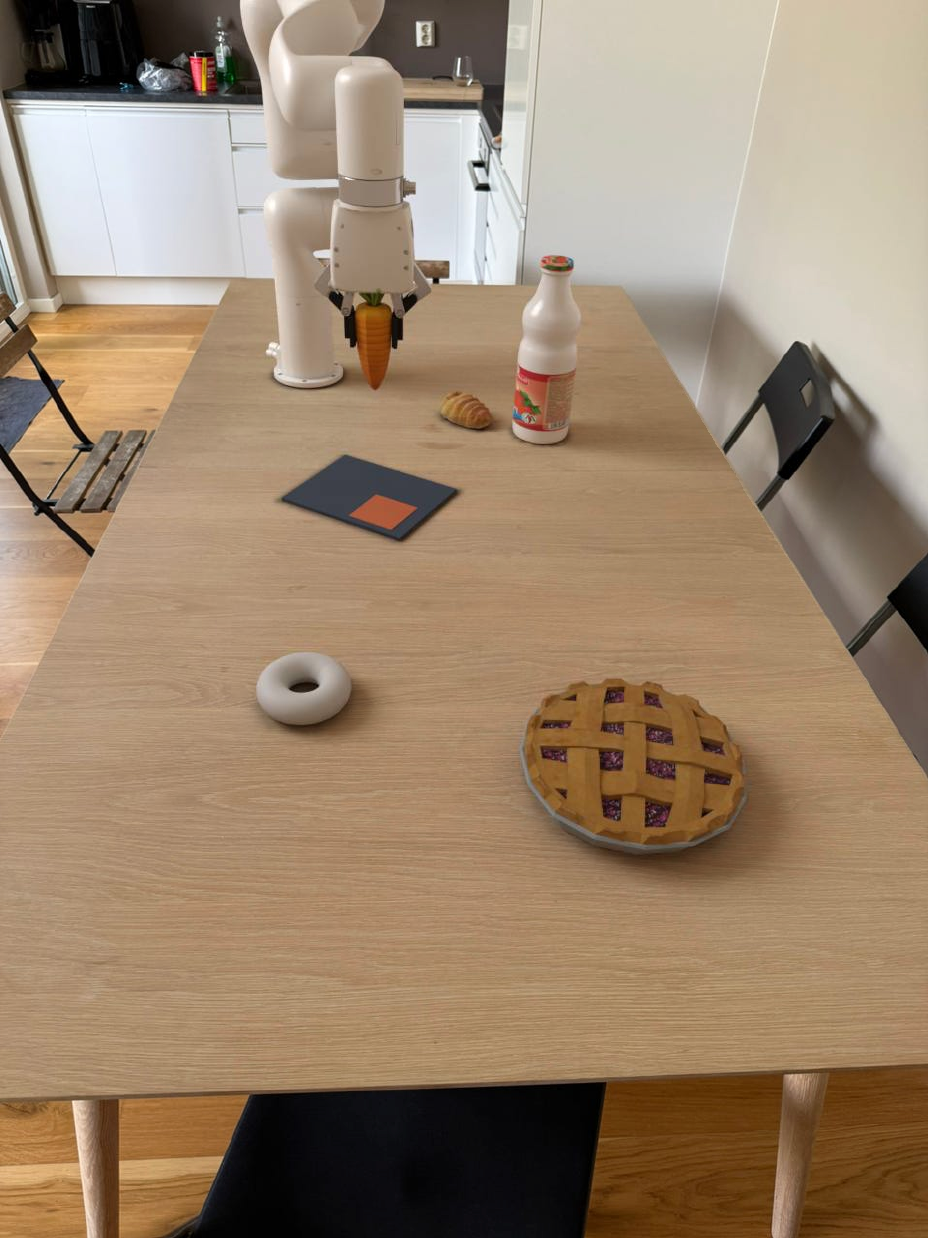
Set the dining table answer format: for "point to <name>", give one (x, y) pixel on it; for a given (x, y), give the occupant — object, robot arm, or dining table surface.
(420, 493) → the mat
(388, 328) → the carrot
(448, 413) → the pastry
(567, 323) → the fruit juice
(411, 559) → the dining table surface
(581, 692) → the pie
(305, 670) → the donut
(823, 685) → the dining table surface
